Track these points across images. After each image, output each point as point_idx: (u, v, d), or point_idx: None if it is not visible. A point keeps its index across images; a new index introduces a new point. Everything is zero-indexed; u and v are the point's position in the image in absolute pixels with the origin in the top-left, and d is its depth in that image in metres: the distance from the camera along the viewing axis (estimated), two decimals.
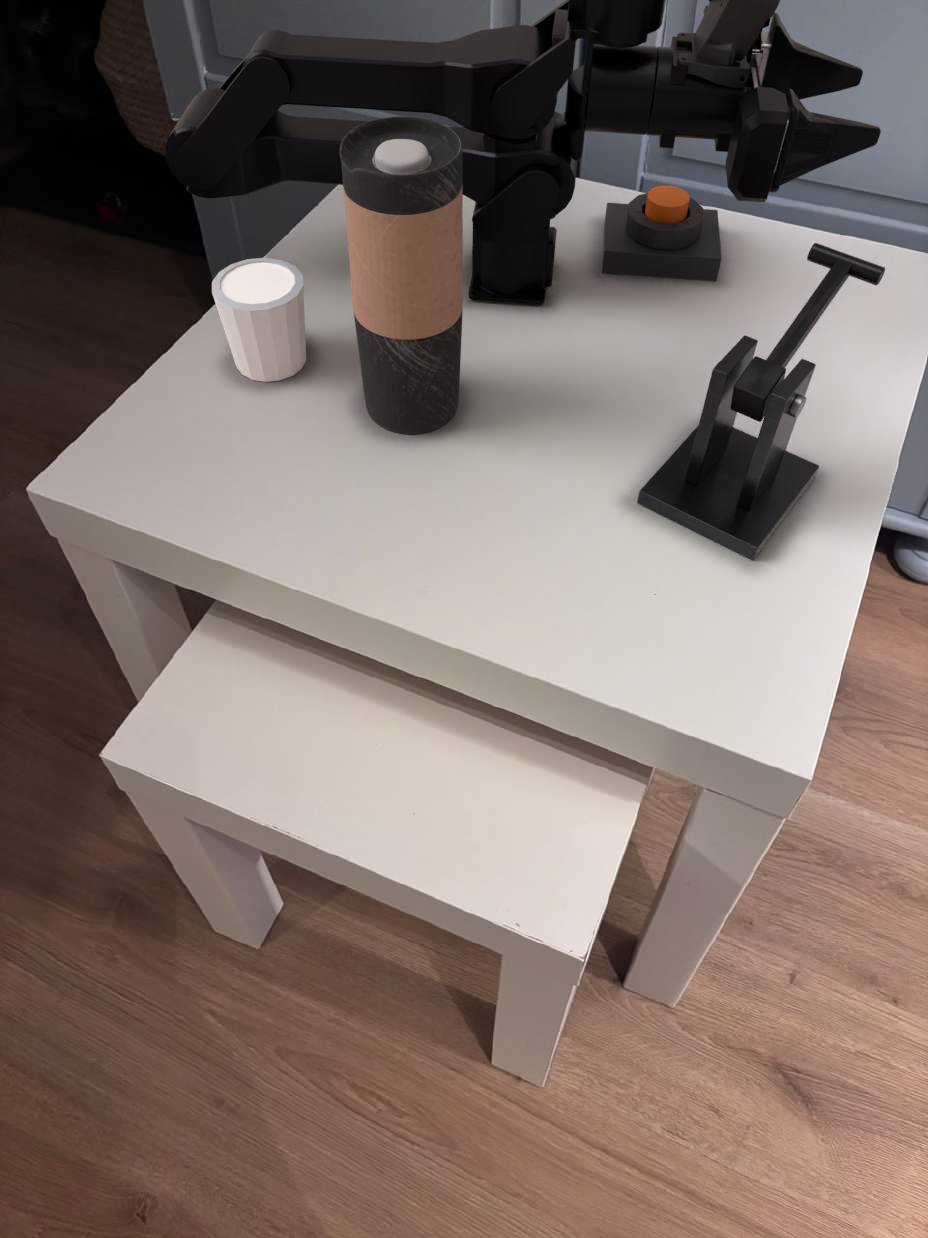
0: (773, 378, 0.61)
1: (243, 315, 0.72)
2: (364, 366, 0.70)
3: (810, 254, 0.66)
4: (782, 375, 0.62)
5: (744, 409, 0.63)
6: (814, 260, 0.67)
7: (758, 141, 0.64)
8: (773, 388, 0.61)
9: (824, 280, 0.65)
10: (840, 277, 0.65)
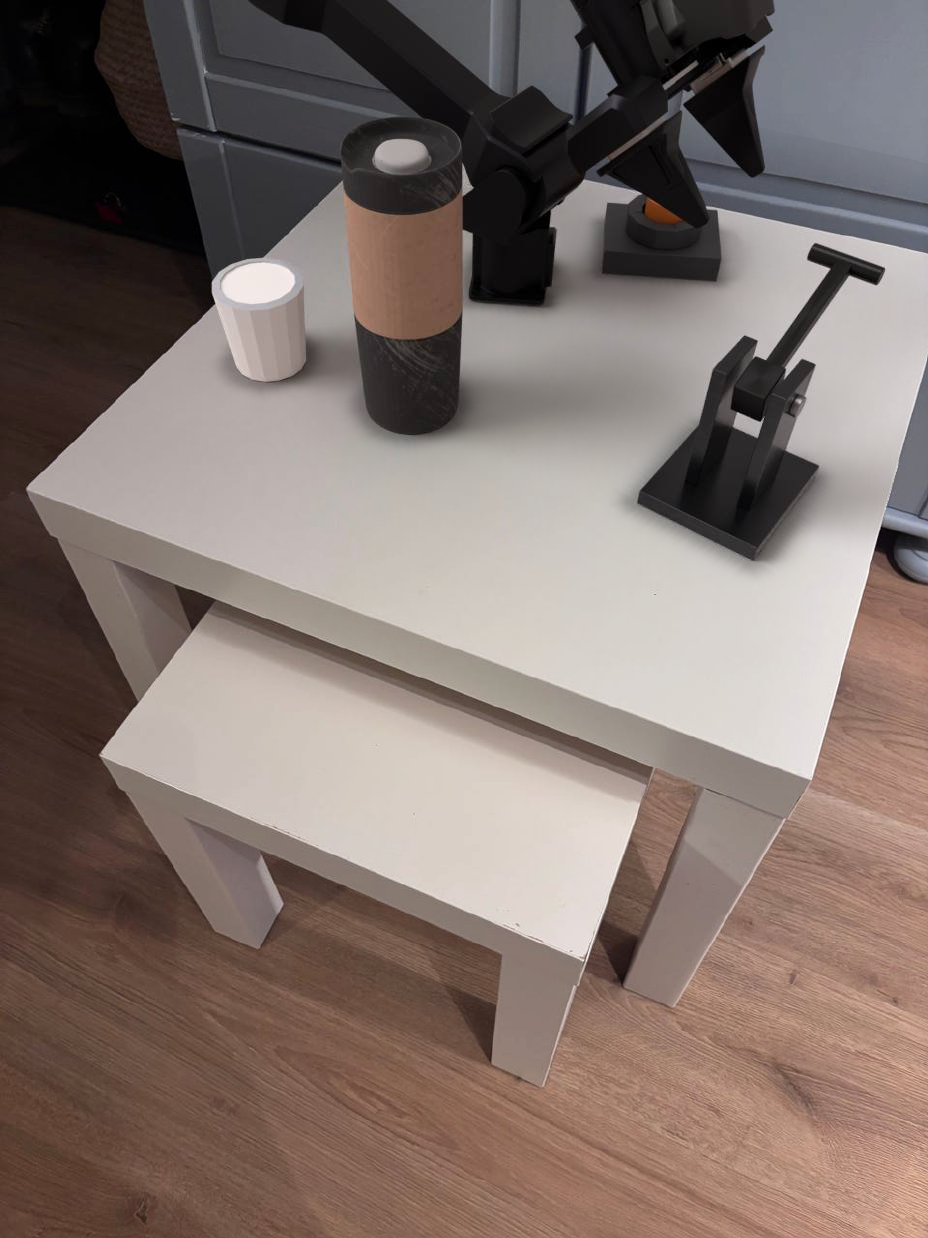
0: (773, 378, 0.61)
1: (243, 315, 0.72)
2: (364, 366, 0.70)
3: (810, 254, 0.66)
4: (782, 375, 0.62)
5: (744, 409, 0.63)
6: (814, 260, 0.67)
7: (608, 122, 0.60)
8: (773, 388, 0.61)
9: (824, 280, 0.65)
10: (840, 277, 0.65)
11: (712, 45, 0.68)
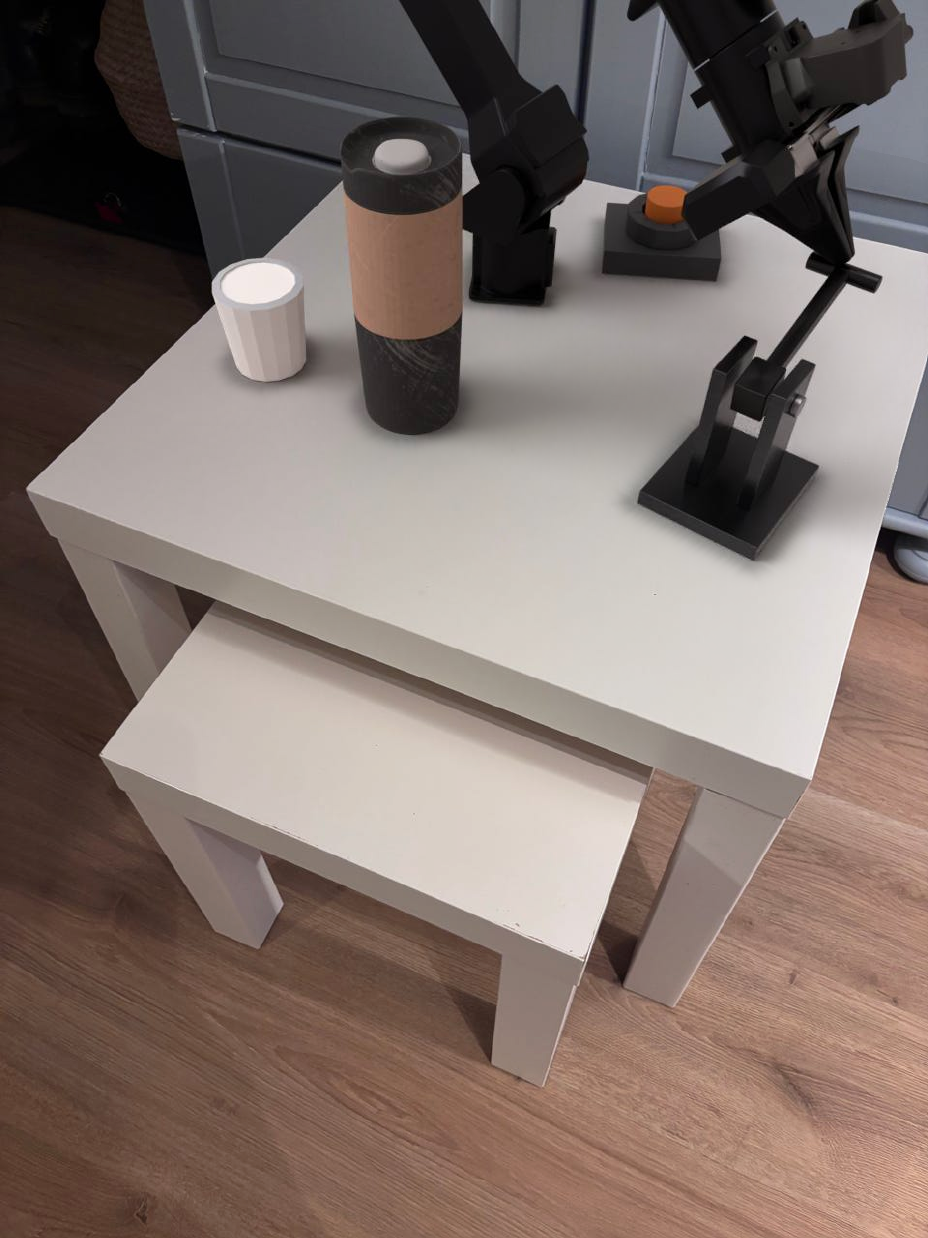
0: (774, 377, 0.61)
1: (243, 315, 0.72)
2: (364, 366, 0.70)
3: (808, 262, 0.67)
4: (782, 375, 0.62)
5: (744, 409, 0.63)
6: (812, 268, 0.67)
7: (734, 190, 0.58)
8: (773, 387, 0.61)
9: (823, 286, 0.66)
10: (838, 283, 0.66)
11: None
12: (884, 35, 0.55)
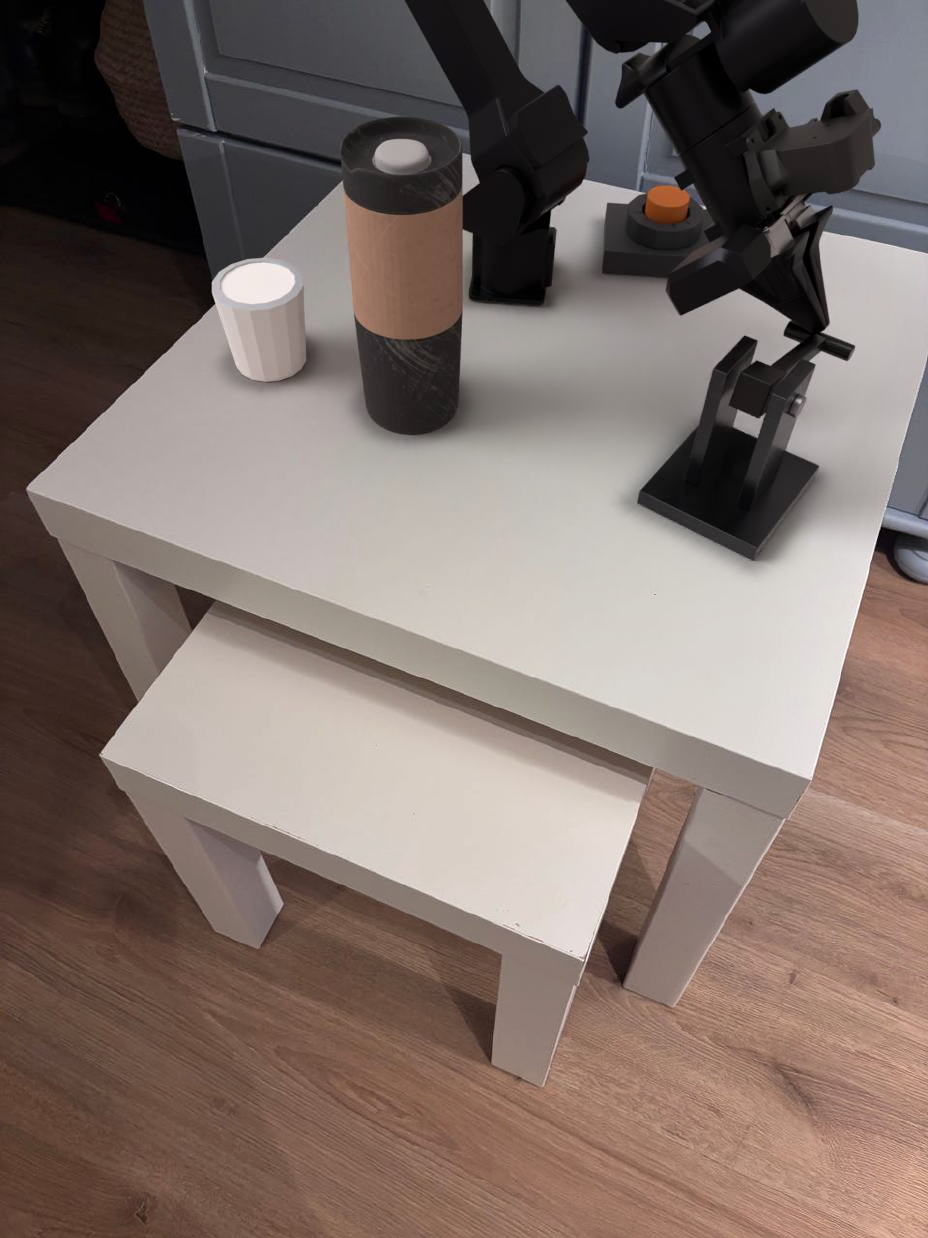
0: (777, 375, 0.62)
1: (243, 315, 0.72)
2: (364, 366, 0.70)
3: (788, 327, 0.71)
4: (784, 377, 0.62)
5: (745, 403, 0.62)
6: (790, 333, 0.71)
7: (714, 273, 0.62)
8: (777, 381, 0.61)
9: (805, 340, 0.69)
10: (818, 342, 0.69)
11: None
12: (852, 132, 0.59)
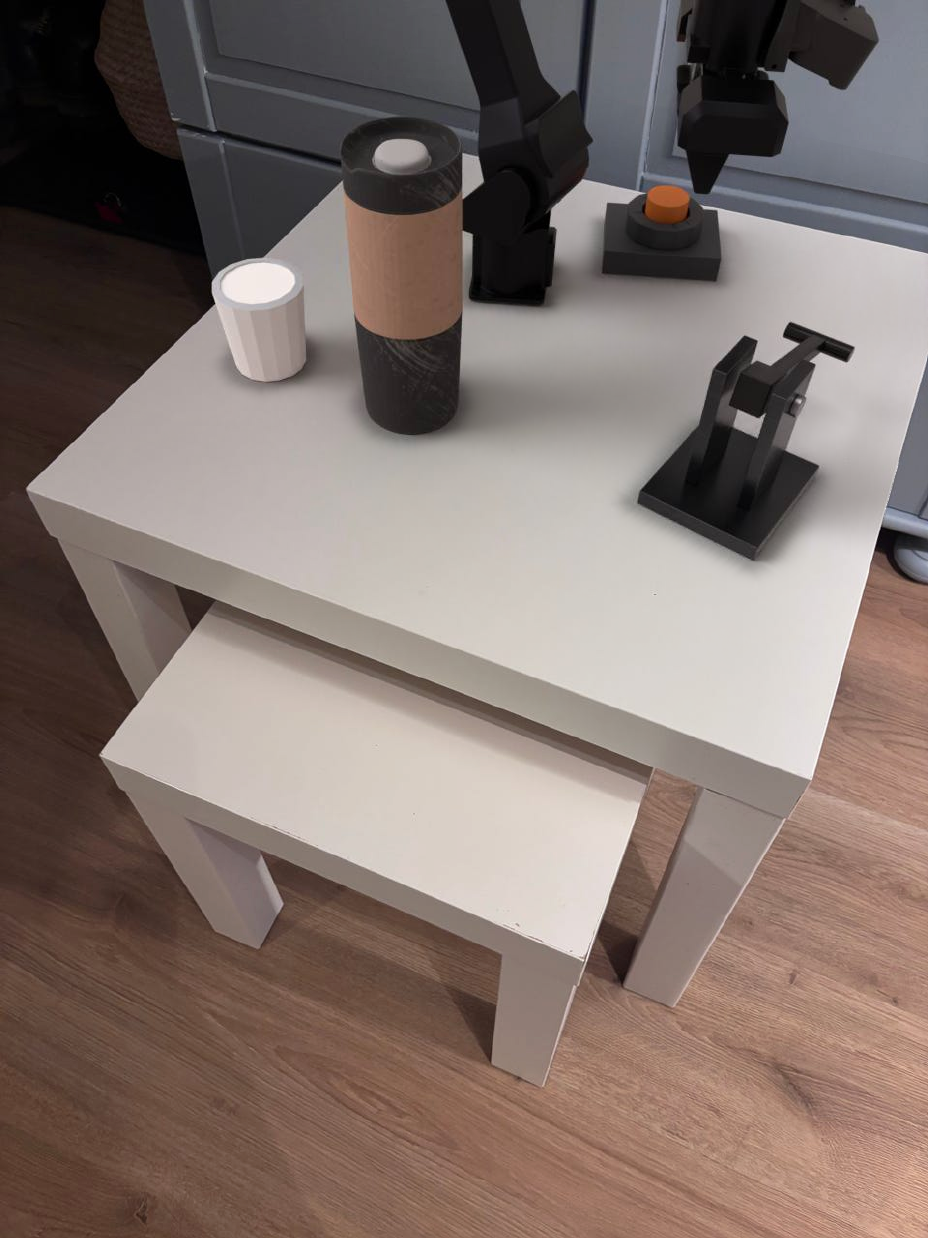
0: (777, 375, 0.62)
1: (243, 315, 0.72)
2: (364, 366, 0.70)
3: (787, 328, 0.71)
4: (784, 377, 0.62)
5: (745, 403, 0.62)
6: (789, 335, 0.71)
7: (757, 129, 0.57)
8: (777, 381, 0.61)
9: (804, 341, 0.69)
10: (818, 343, 0.69)
11: None
12: (877, 37, 0.60)
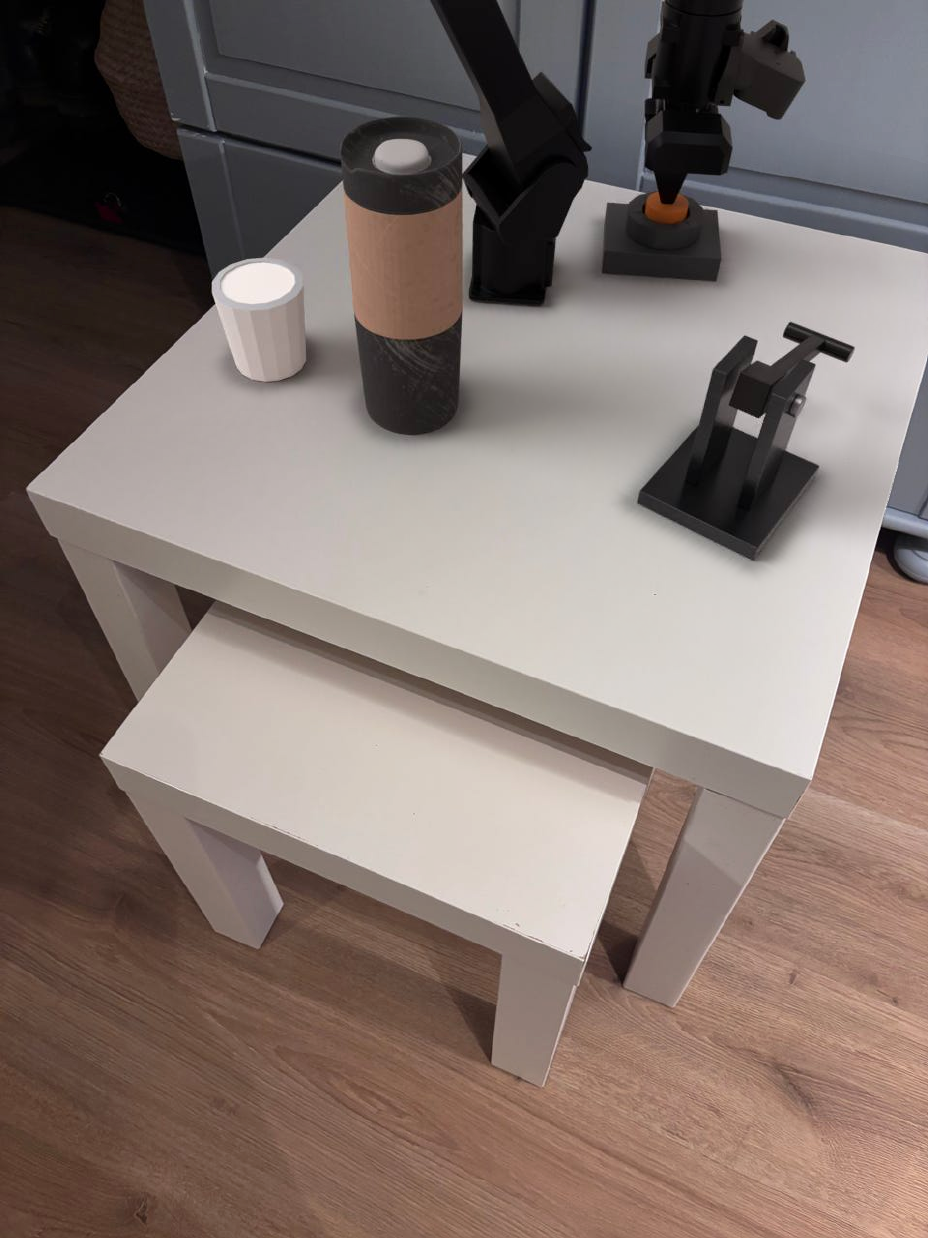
0: (777, 375, 0.62)
1: (243, 315, 0.72)
2: (364, 366, 0.70)
3: (787, 328, 0.71)
4: (784, 377, 0.62)
5: (745, 403, 0.62)
6: (789, 335, 0.71)
7: (707, 153, 0.72)
8: (777, 381, 0.61)
9: (804, 341, 0.69)
10: (818, 343, 0.69)
11: None
12: (804, 78, 0.75)
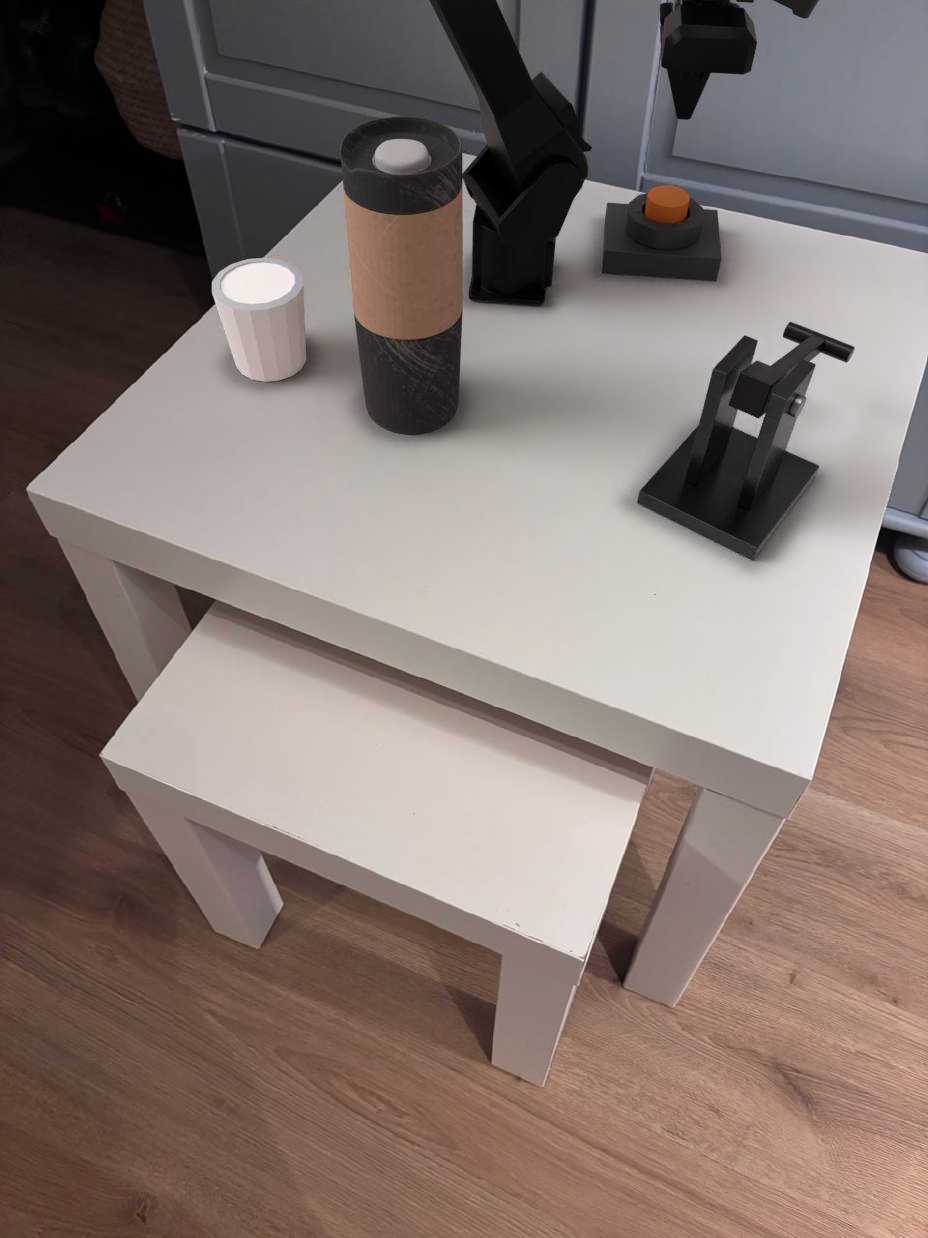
0: (777, 375, 0.62)
1: (243, 315, 0.72)
2: (364, 366, 0.70)
3: (787, 328, 0.71)
4: (784, 377, 0.62)
5: (745, 403, 0.62)
6: (789, 335, 0.71)
7: (729, 49, 0.66)
8: (777, 381, 0.61)
9: (804, 341, 0.69)
10: (818, 343, 0.69)
11: None
12: None
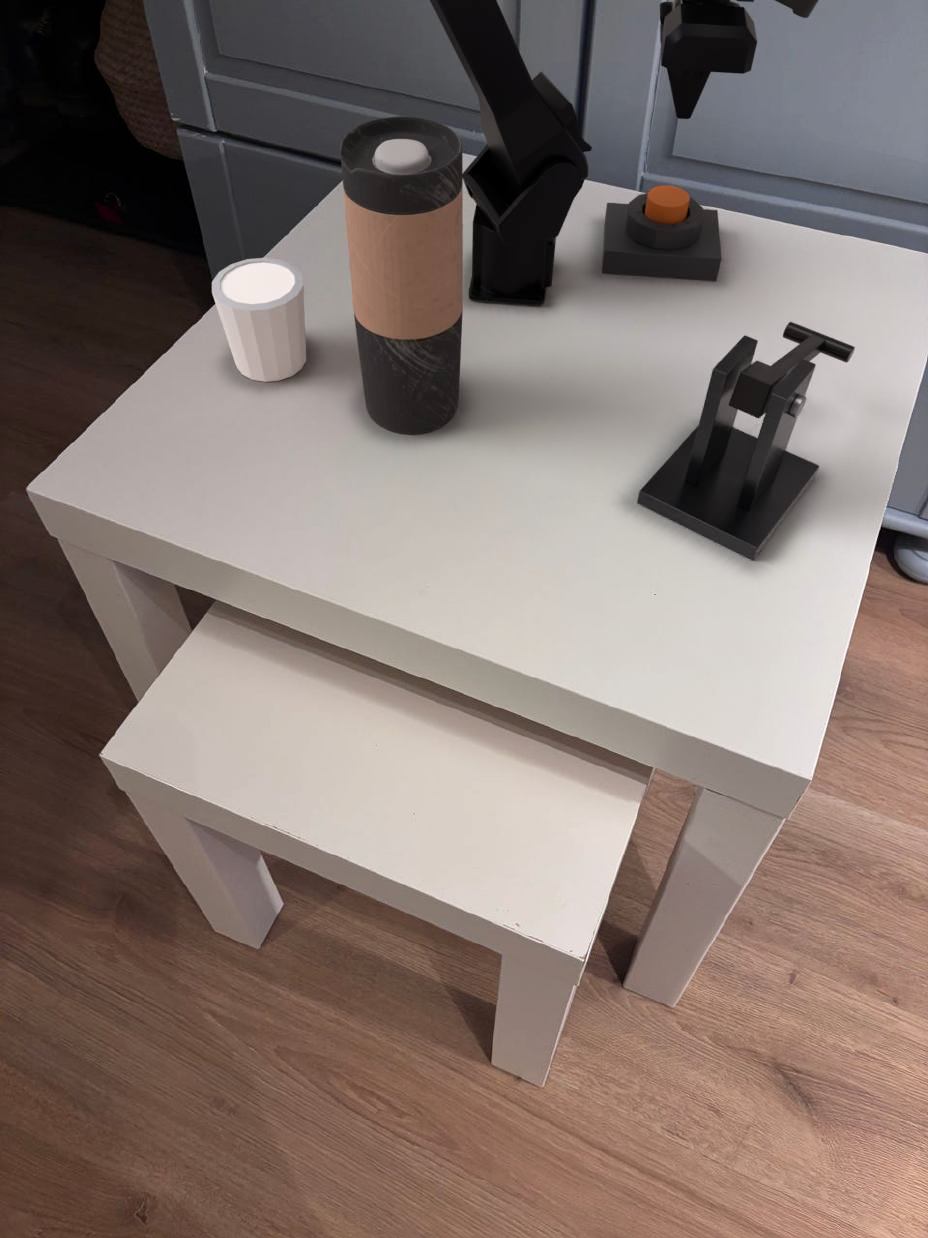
0: (777, 375, 0.62)
1: (243, 315, 0.72)
2: (364, 366, 0.70)
3: (787, 328, 0.71)
4: (784, 377, 0.62)
5: (745, 403, 0.62)
6: (789, 335, 0.71)
7: (729, 48, 0.66)
8: (777, 381, 0.61)
9: (804, 341, 0.69)
10: (818, 343, 0.69)
11: None
12: None
